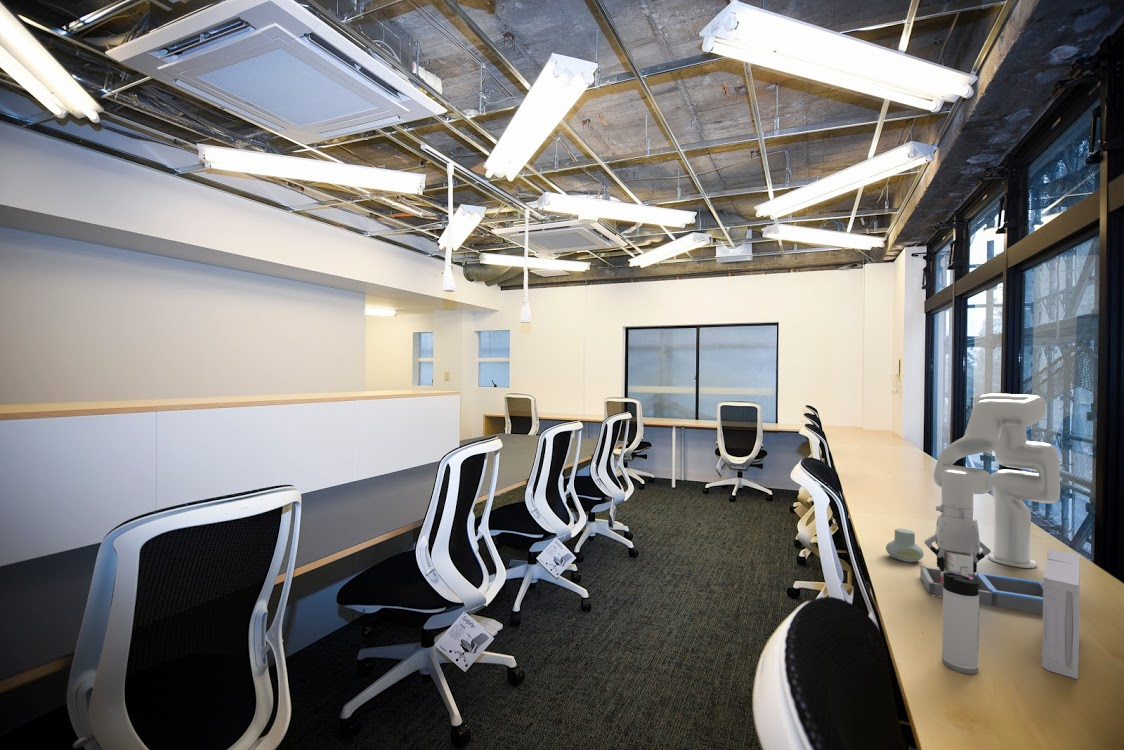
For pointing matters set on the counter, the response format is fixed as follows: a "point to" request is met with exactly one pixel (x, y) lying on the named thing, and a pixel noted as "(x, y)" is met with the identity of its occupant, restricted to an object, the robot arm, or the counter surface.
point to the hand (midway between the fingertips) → (956, 571)
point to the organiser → (995, 590)
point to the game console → (1061, 613)
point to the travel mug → (960, 623)
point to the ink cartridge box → (958, 564)
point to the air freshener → (904, 546)
